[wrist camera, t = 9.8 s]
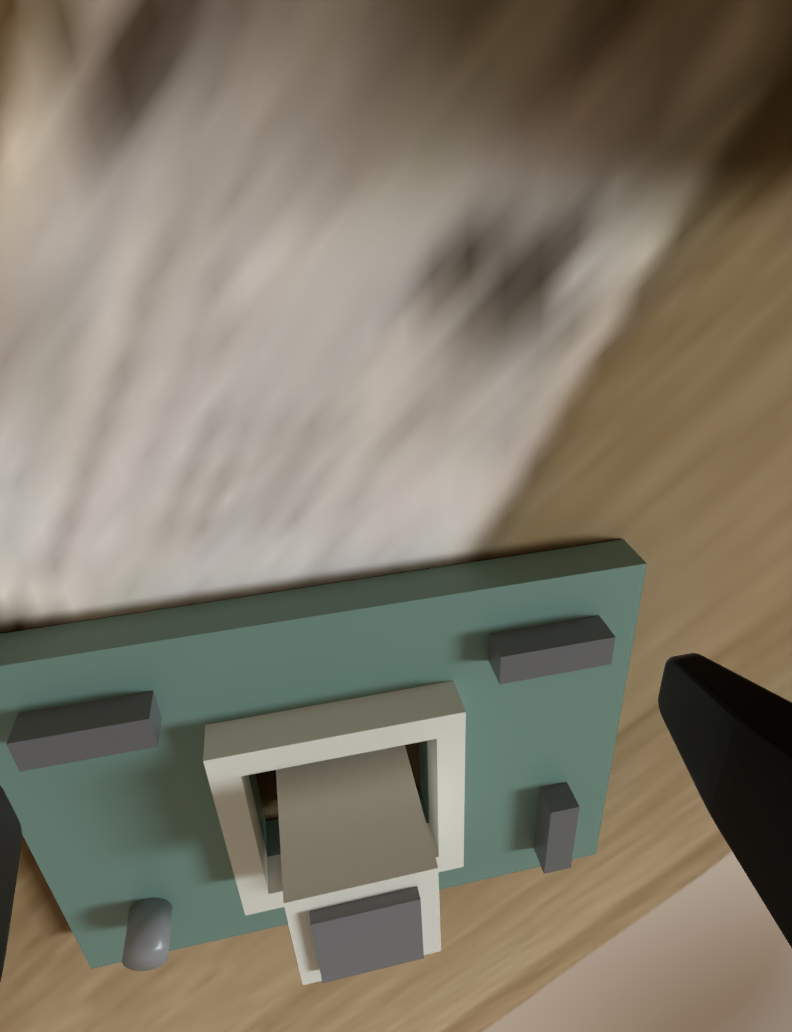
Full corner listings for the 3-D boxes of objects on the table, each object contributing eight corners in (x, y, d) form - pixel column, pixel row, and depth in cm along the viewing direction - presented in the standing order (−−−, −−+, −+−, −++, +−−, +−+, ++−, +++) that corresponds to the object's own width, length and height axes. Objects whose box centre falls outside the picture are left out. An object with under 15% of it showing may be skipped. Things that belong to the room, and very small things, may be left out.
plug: (391, 696, 25) (442, 881, 19) (398, 791, 28) (444, 979, 22) (272, 718, 25) (284, 917, 18) (292, 813, 27) (307, 1014, 21)
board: (623, 539, 24) (676, 594, 21) (580, 823, 32) (614, 891, 29) (-40, 639, 20) (-86, 721, 18) (98, 928, 28) (82, 1018, 26)
